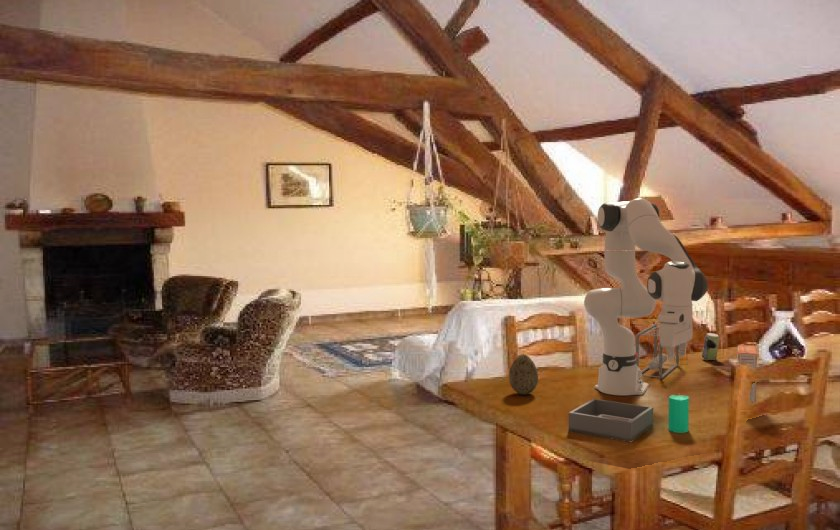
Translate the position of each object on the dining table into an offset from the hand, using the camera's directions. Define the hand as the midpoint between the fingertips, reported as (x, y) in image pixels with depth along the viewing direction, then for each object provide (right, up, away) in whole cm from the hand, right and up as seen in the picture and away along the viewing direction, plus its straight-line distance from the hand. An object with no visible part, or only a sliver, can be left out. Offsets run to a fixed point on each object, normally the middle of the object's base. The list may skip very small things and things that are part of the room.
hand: (676, 358), depth 240 cm
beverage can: (+49, -13, +102) cm, 114 cm away
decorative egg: (-41, -19, +47) cm, 66 cm away
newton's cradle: (+20, -16, +83) cm, 86 cm away
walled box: (-19, -23, +4) cm, 30 cm away
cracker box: (+32, -21, +24) cm, 45 cm away
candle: (+1, -23, +2) cm, 23 cm away
